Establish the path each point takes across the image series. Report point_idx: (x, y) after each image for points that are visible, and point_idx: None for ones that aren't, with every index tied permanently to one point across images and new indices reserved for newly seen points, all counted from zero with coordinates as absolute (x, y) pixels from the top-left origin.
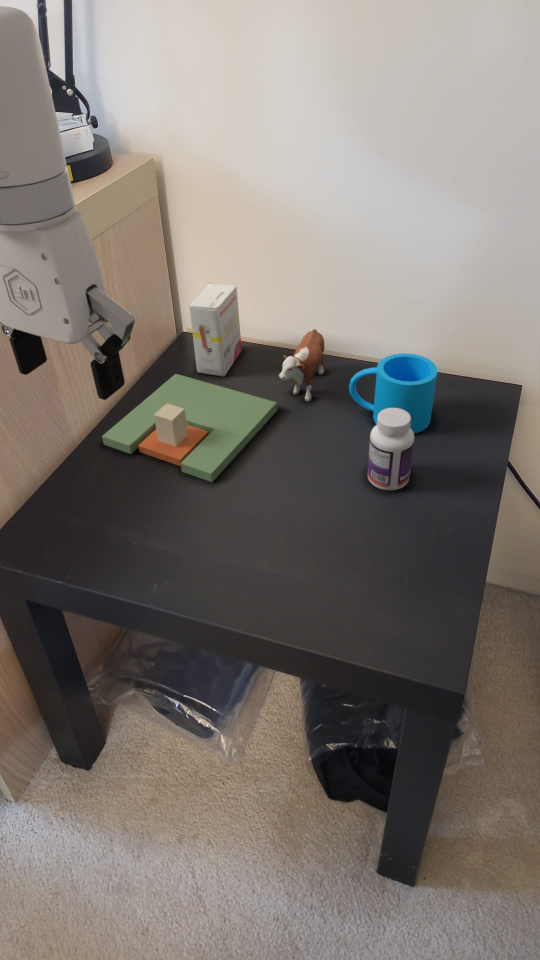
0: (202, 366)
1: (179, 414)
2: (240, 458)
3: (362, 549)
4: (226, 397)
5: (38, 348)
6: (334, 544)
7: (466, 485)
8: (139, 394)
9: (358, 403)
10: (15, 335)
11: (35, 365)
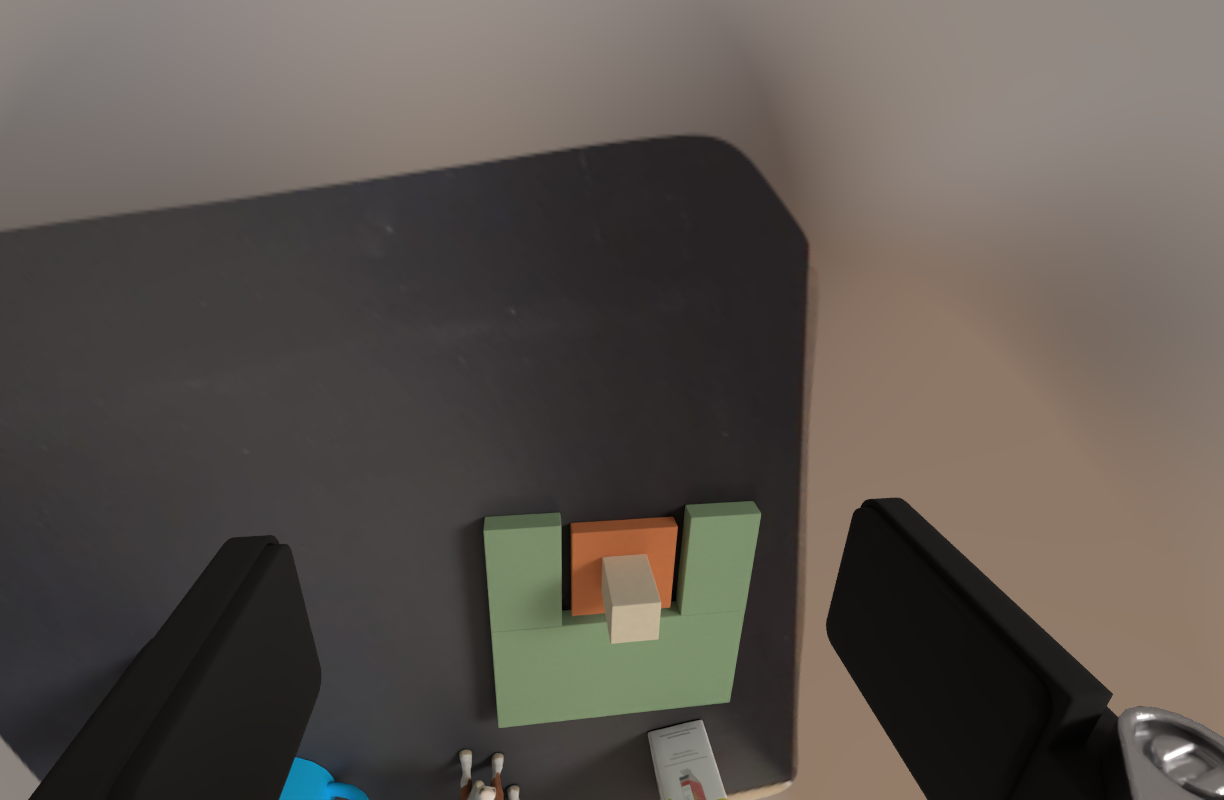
0: (693, 736)
1: (611, 626)
2: (478, 589)
3: (87, 508)
4: (596, 697)
5: (885, 686)
6: (146, 494)
7: (47, 718)
8: (770, 631)
9: (354, 789)
10: (1078, 739)
11: (850, 578)
